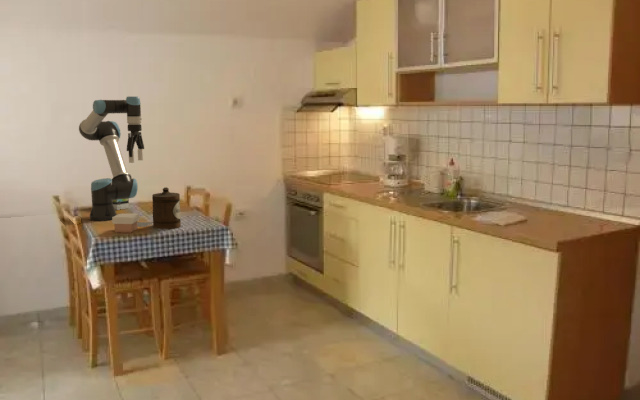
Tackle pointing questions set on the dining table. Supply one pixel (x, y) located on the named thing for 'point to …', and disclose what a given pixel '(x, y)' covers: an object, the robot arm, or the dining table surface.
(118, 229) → the dish
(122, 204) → the tea box
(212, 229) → the dining table surface
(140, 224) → the mat
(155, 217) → the wooden container
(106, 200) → the robot arm
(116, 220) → the lid
